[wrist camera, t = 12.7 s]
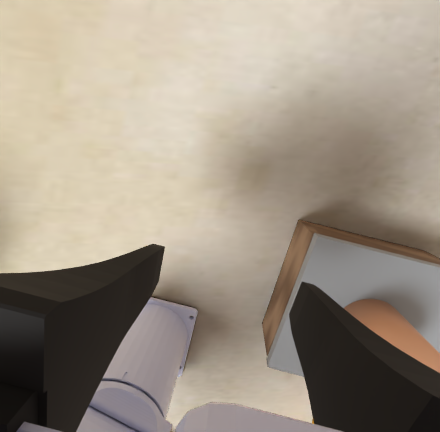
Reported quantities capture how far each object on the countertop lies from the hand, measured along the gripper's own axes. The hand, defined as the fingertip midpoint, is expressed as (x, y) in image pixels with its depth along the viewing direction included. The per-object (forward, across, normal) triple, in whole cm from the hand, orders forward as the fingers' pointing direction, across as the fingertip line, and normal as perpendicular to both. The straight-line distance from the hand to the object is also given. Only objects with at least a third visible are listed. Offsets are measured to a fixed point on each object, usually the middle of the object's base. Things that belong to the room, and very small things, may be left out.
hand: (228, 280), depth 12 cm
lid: (+6, -12, +4) cm, 14 cm away
